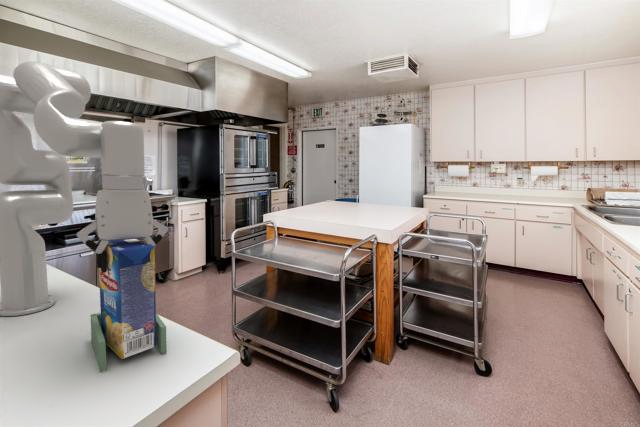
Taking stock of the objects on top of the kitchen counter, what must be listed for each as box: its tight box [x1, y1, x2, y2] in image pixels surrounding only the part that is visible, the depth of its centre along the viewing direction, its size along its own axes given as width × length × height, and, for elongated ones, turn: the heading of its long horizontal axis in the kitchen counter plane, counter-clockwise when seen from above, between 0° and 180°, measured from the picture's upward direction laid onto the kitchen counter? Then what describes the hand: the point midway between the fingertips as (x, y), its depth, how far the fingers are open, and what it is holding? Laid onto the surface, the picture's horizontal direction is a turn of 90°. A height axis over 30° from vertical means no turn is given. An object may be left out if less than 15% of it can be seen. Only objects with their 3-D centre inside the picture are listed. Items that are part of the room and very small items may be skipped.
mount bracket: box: [90, 312, 168, 373], centre depth 74 cm, size 15×12×6 cm
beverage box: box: [98, 239, 157, 360], centre depth 72 cm, size 7×11×22 cm, turn 51°
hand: (126, 267), depth 71 cm, fingers closed on beverage box, 7 cm apart
